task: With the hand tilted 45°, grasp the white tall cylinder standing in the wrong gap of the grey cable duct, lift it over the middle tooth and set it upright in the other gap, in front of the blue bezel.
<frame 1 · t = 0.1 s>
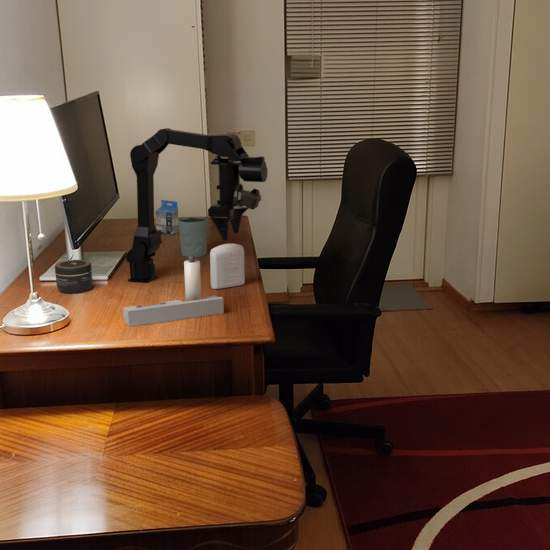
hand: (230, 236, 193), 15 cm above the table, tool pointing down, fingers open, 9 cm apart
cable duct: (172, 313, 174), on the table
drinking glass: (194, 254, 234), on the table
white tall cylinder: (193, 310, 176), on the table
label tape box: (167, 233, 267), on the table
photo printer: (227, 286, 197), on the table
jar: (75, 290, 195), on the table
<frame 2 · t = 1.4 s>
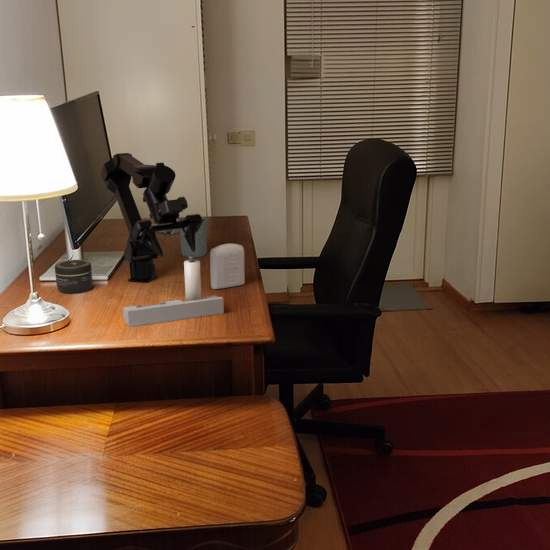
hand: (178, 253, 179), 13 cm above the table, tool tilted 45°, fingers open, 9 cm apart
nothing on the table moved.
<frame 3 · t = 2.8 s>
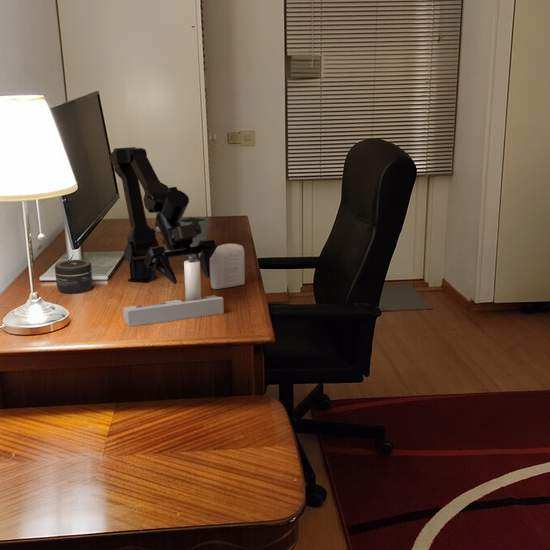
hand: (192, 280, 174), 8 cm above the table, tool tilted 45°, fingers open, 9 cm apart
nothing on the table moved.
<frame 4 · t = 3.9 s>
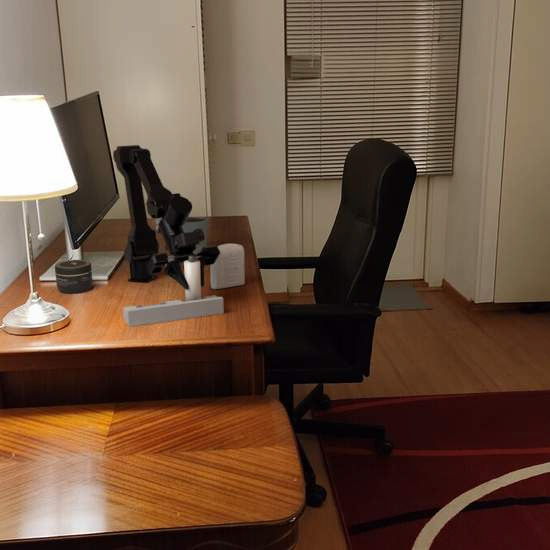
hand: (195, 287, 173), 7 cm above the table, tool tilted 45°, fingers closed on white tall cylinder, 4 cm apart
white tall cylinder: (193, 310, 176), on the table, touching gripper
everything else where it was.
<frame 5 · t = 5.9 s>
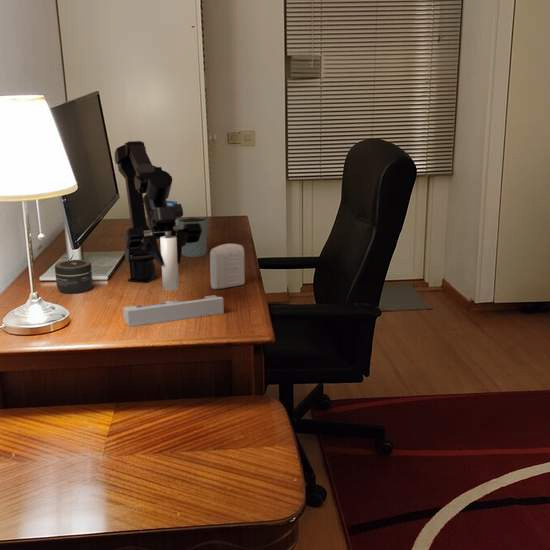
hand: (170, 264, 169), 14 cm above the table, tool tilted 45°, fingers closed on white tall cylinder, 4 cm apart
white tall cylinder: (170, 288, 172), point 7 cm above the table, touching gripper
everything else where it was.
when the fingers open (8 cm above the table, at t = 8.0 s): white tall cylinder drops 1 cm, on the table.
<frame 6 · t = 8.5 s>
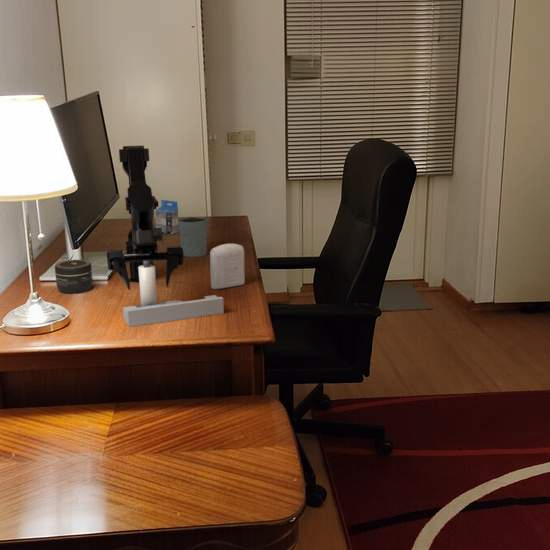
hand: (148, 287, 168), 8 cm above the table, tool tilted 45°, fingers open, 9 cm apart
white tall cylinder: (149, 316, 172), on the table
everything else where it was.
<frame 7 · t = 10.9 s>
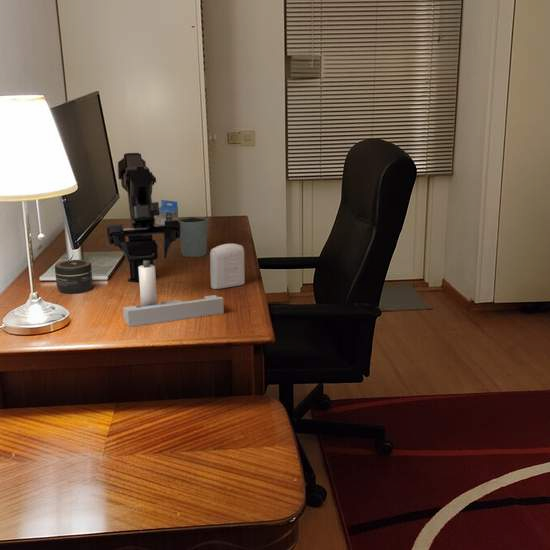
hand: (147, 260, 177), 12 cm above the table, tool tilted 45°, fingers open, 9 cm apart
nothing on the table moved.
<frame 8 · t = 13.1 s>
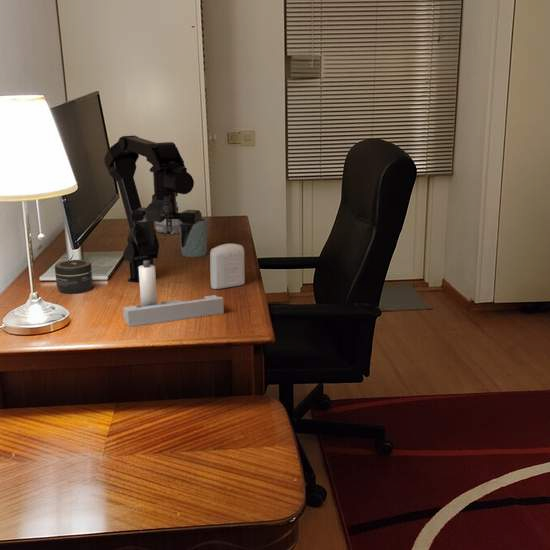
hand: (167, 246, 189), 13 cm above the table, tool pointing down, fingers open, 9 cm apart
nothing on the table moved.
at the end: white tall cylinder 0.1 cm from the target spot, on the table; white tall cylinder tilted 0°; the gripper is holding nothing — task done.
